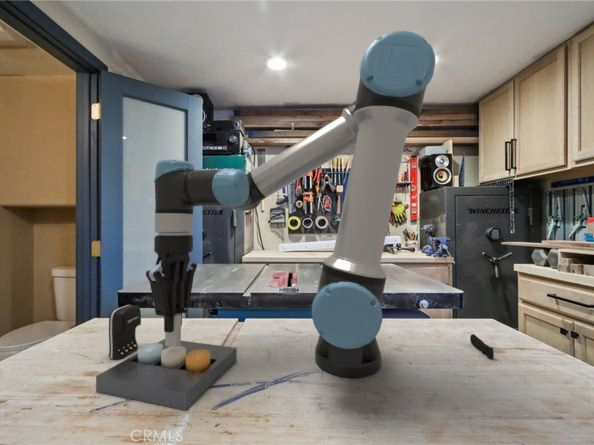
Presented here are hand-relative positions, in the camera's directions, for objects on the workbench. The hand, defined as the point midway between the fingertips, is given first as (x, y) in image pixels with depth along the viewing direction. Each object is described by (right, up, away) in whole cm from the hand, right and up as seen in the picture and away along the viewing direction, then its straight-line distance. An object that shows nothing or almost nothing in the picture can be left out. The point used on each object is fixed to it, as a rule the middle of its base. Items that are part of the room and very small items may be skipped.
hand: (173, 345), depth 58 cm
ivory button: (0, -3, 0) cm, 3 cm away
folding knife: (+73, -7, +11) cm, 74 cm away
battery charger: (-16, -7, +9) cm, 20 cm away
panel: (0, -6, 0) cm, 6 cm away
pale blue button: (-6, -3, +2) cm, 7 cm away
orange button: (+6, -3, -2) cm, 7 cm away
